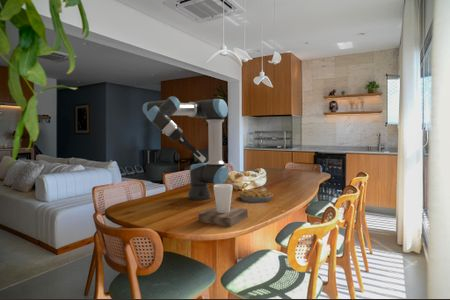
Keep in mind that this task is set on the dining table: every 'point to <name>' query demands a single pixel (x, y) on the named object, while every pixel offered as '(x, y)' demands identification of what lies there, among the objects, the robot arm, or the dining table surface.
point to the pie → (255, 195)
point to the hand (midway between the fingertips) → (202, 159)
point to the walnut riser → (223, 216)
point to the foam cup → (223, 197)
